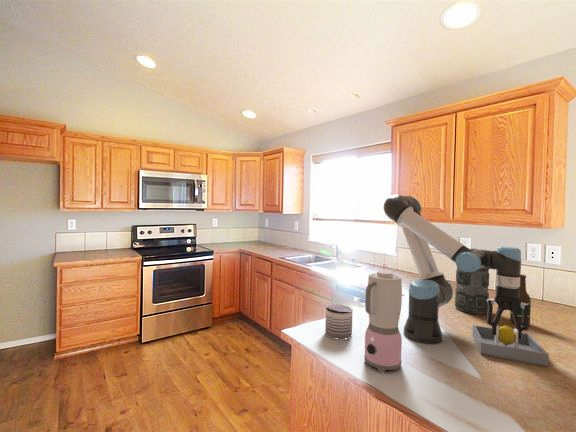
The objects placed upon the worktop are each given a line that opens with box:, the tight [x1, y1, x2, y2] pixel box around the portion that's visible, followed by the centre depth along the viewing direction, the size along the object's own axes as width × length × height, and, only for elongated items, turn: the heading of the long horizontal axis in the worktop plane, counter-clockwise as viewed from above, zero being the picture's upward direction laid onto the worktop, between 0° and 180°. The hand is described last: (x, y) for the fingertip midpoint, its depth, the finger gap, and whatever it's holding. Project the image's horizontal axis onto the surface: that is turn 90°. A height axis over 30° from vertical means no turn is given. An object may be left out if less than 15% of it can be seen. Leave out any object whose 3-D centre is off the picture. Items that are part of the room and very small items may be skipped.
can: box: [324, 303, 354, 339], centre depth 126 cm, size 11×11×12 cm
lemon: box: [498, 325, 515, 346], centre depth 116 cm, size 6×6×8 cm
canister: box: [454, 265, 490, 315], centre depth 164 cm, size 16×16×28 cm
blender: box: [364, 270, 403, 373], centre depth 101 cm, size 16×12×32 cm
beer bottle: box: [509, 273, 532, 327], centre depth 145 cm, size 8×8×24 cm
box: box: [471, 324, 550, 368], centre depth 116 cm, size 20×20×4 cm
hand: (505, 344), depth 116 cm, fingers closed on lemon, 5 cm apart
